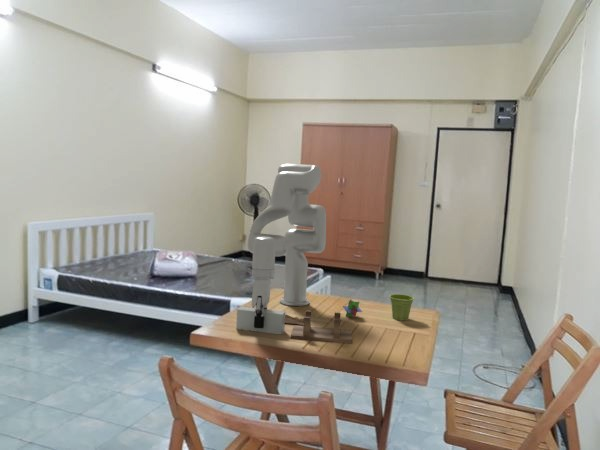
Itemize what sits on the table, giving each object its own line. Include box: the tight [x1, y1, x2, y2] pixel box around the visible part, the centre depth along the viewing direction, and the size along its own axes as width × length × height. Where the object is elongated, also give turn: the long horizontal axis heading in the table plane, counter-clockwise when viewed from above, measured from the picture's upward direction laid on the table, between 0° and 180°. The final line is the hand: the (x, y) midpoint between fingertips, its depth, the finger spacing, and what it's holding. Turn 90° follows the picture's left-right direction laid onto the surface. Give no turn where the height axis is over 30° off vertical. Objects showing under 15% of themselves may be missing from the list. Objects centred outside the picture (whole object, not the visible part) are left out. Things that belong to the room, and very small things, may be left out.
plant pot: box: [389, 293, 415, 321], centre depth 187 cm, size 9×9×9 cm
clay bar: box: [235, 306, 286, 335], centre depth 163 cm, size 4×16×7 cm, turn 78°
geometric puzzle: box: [342, 299, 363, 320], centre depth 185 cm, size 7×7×8 cm
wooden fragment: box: [285, 313, 304, 326], centre depth 177 cm, size 26×11×1 cm, turn 58°
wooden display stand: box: [289, 309, 353, 344], centre depth 160 cm, size 11×20×7 cm, turn 85°
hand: (260, 324), depth 163 cm, fingers open, 6 cm apart
